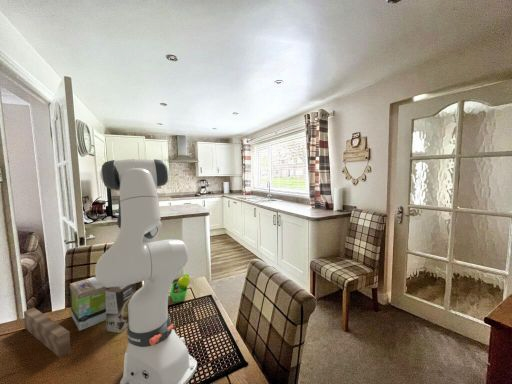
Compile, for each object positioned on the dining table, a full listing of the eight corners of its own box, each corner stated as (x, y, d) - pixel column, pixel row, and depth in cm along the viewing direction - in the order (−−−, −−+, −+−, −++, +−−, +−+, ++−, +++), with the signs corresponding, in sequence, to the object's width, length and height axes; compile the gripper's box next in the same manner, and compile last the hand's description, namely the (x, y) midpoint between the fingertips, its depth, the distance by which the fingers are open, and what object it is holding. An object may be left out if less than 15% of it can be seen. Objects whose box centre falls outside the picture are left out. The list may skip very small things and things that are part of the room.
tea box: (108, 319, 92) (107, 285, 91) (78, 332, 84) (76, 295, 83) (98, 305, 101) (96, 275, 100) (70, 316, 94) (68, 283, 93)
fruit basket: (173, 292, 113) (172, 271, 112) (190, 290, 115) (190, 269, 115) (169, 304, 102) (169, 281, 101) (189, 301, 104) (189, 279, 104)
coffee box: (120, 333, 83) (118, 292, 82) (106, 331, 84) (104, 290, 83) (137, 318, 92) (136, 281, 91) (124, 316, 93) (123, 280, 92)
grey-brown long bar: (70, 351, 75) (69, 331, 74) (59, 357, 72) (58, 337, 71) (35, 324, 89) (34, 307, 88) (24, 328, 86) (23, 311, 86)
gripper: (122, 241, 114) (102, 265, 106) (147, 246, 105) (128, 274, 97) (130, 247, 119) (112, 271, 110) (155, 252, 109) (137, 279, 101)
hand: (120, 272), depth 103 cm, fingers closed
